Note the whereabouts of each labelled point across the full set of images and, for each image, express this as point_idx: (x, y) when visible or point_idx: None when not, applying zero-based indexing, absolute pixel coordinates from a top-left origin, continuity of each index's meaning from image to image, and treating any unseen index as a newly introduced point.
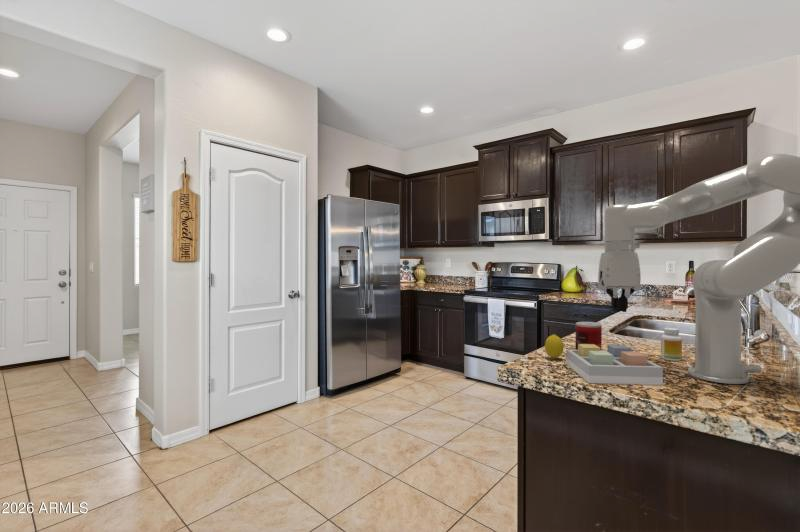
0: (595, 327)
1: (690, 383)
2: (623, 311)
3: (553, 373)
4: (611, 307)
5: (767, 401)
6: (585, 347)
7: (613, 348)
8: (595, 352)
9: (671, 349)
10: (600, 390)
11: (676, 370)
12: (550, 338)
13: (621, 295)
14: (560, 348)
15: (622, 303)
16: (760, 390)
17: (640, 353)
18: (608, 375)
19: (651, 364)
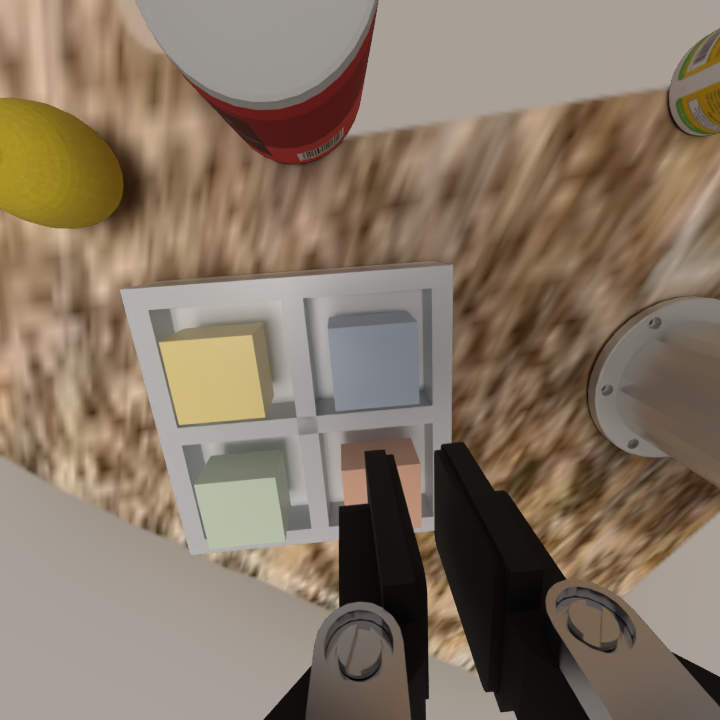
0: (297, 105)
1: (529, 456)
2: (436, 532)
3: (98, 427)
4: (340, 508)
5: (617, 558)
6: (189, 420)
7: (334, 398)
8: (219, 510)
9: None
10: (233, 560)
11: (587, 307)
12: None
13: (525, 671)
14: (92, 219)
15: (462, 591)
16: (679, 483)
17: (413, 493)
18: None
19: (432, 494)
